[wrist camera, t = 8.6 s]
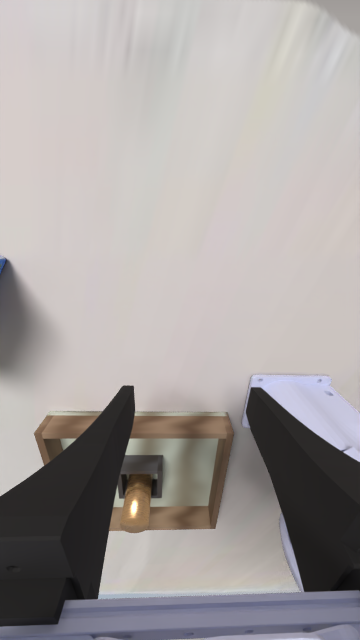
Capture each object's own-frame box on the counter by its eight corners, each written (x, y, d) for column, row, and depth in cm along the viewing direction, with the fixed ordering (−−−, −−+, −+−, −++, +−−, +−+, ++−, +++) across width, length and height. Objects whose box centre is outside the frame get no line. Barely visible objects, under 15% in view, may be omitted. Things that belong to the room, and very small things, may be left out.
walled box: (227, 412, 25) (233, 433, 22) (211, 504, 33) (215, 528, 30) (49, 411, 24) (33, 433, 21) (75, 506, 32) (65, 531, 29)
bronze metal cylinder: (152, 460, 27) (146, 516, 22) (154, 474, 28) (149, 531, 23) (128, 461, 27) (117, 518, 22) (132, 476, 28) (122, 533, 23)
